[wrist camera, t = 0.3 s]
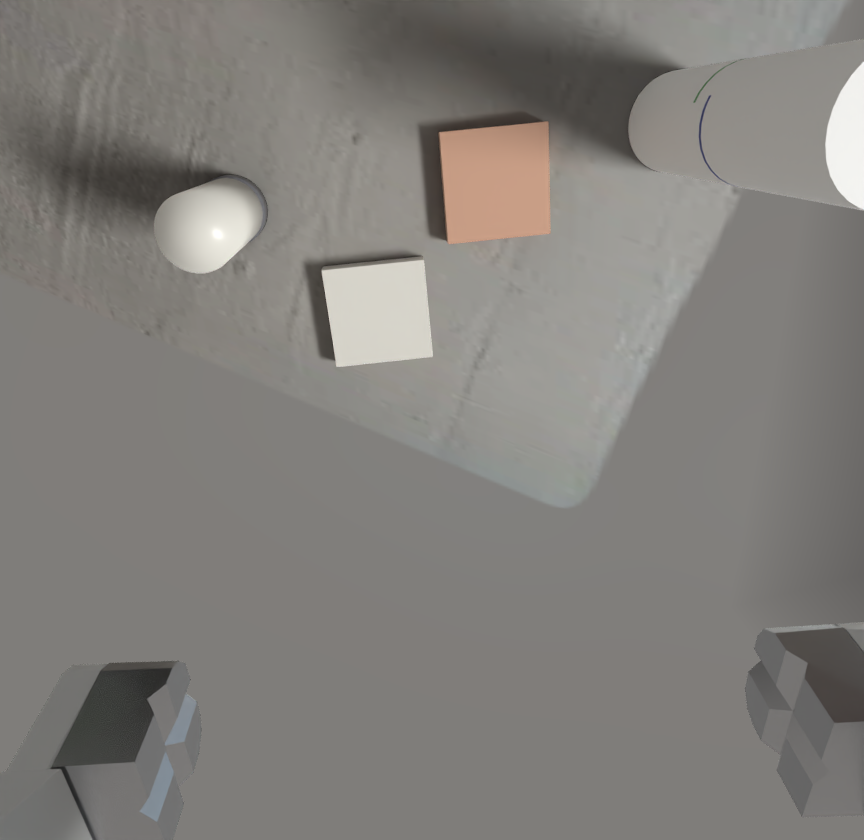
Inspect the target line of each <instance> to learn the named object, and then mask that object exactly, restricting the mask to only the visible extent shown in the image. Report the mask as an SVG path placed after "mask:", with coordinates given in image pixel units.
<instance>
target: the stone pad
mask: <svg viewBox="0 0 864 840" xmlns="http://www.w3.org/2000/svg"><path fill="white" fill-rule="evenodd" d="M322 277H323V283H324V289H325V296H326V302H327V308H328V315H329V321H330V328H331V334H332V340H333V347H334V353H335V359H336V366H337V367H342V366H352V365H361V364H370V363H380V362H389V361H398V360H407V359H417V358H426V357H433V352H432V341H431V331H430V320H429V309H428V299H427V288H426V278H425V267H424V259H423V256H420V257H410V258H401V259H391V260H382V261H372V262H362V263H353V264H343V265H334V266H324V267H323V268H322Z"/></svg>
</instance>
